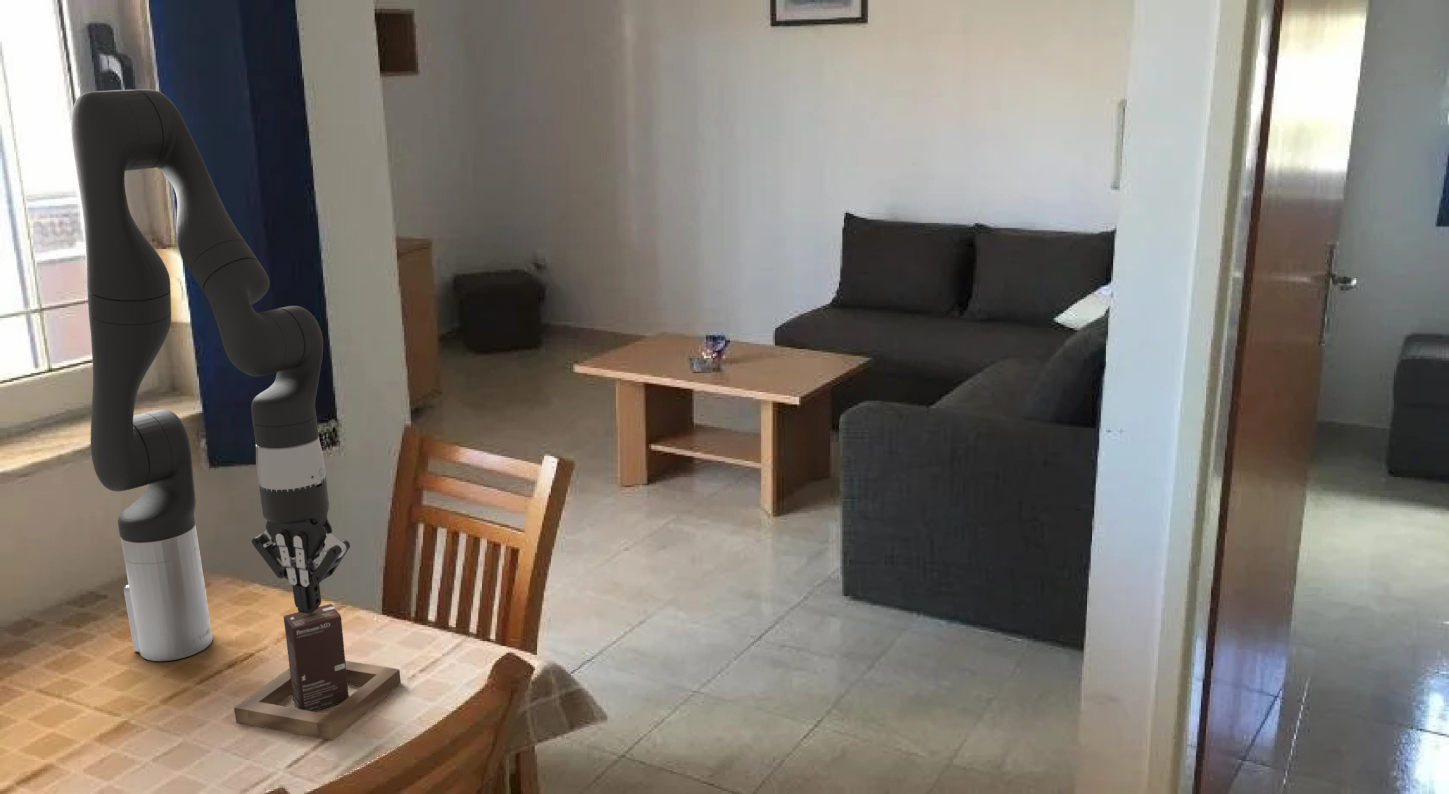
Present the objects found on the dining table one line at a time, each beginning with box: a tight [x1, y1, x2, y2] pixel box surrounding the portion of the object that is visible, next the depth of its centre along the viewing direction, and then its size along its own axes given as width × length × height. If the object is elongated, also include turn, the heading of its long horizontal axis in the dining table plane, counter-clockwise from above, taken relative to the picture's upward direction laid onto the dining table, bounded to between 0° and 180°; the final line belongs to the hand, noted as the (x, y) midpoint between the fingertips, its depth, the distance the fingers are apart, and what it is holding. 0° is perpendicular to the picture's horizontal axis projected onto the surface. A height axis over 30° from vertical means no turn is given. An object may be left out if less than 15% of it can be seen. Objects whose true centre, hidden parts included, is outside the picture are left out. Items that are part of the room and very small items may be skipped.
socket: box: [233, 660, 402, 741], centre depth 147 cm, size 14×14×2 cm
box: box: [283, 603, 349, 712], centre depth 146 cm, size 6×4×12 cm
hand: (309, 610), depth 144 cm, fingers closed
